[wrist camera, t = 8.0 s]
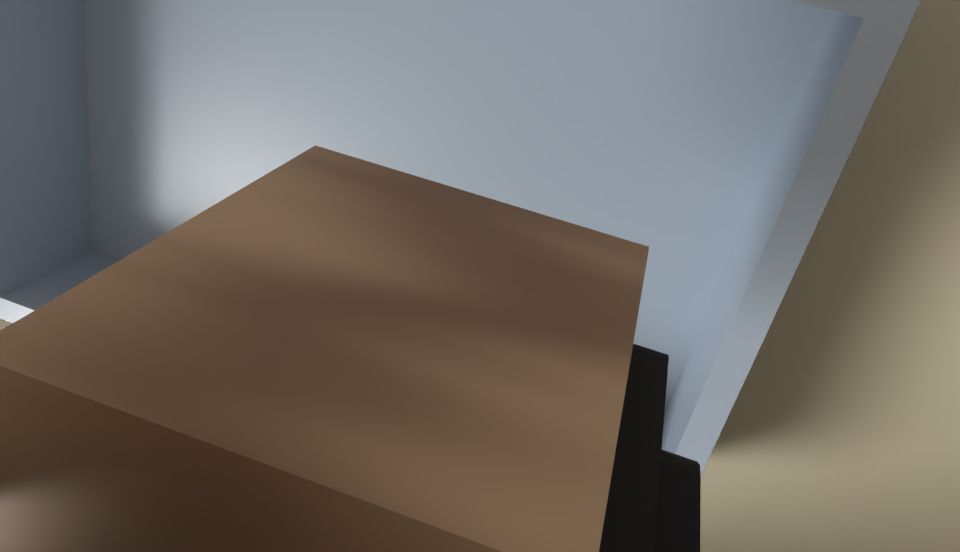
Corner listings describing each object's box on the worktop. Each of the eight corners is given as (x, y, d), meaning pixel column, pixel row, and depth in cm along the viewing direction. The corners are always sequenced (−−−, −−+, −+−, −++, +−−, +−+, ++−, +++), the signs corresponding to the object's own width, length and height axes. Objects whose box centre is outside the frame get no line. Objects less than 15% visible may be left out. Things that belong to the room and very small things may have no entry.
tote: (878, -28, 16) (928, -15, 12) (668, 459, 22) (660, 563, 18) (71, -225, 18) (-83, -261, 15) (86, 255, 25) (-20, 311, 21)
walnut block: (649, 246, 10) (594, 585, 5) (556, 507, 13) (453, 923, 7) (315, 145, 11) (-37, 351, 6) (286, 410, 13) (16, 729, 8)
